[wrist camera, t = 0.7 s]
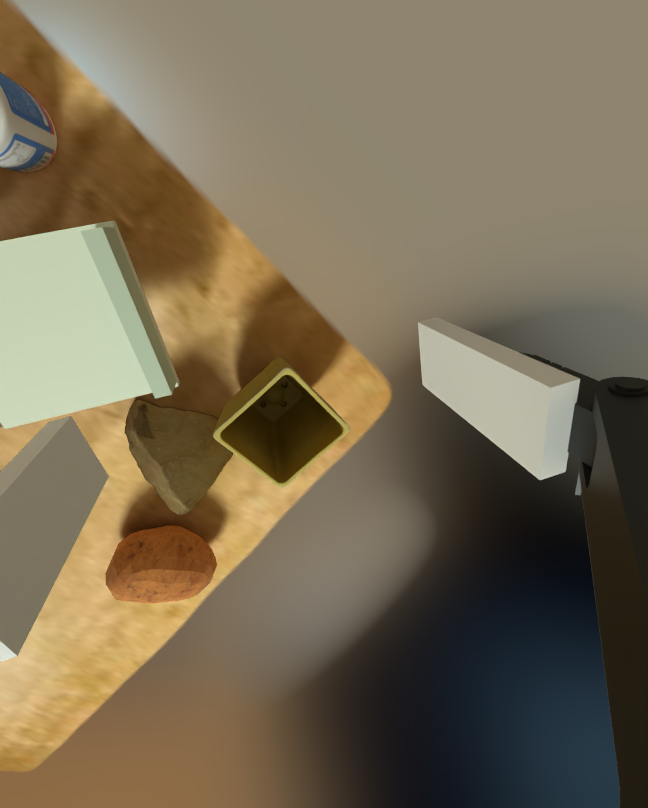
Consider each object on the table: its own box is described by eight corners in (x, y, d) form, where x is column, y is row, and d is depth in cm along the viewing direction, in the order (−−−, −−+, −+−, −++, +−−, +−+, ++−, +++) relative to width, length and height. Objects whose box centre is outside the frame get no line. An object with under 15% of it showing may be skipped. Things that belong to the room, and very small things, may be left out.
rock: (86, 433, 34) (156, 505, 37) (101, 433, 27) (184, 521, 31) (178, 369, 40) (231, 437, 43) (209, 356, 33) (268, 438, 37)
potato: (139, 499, 41) (121, 551, 34) (229, 526, 45) (229, 576, 39) (108, 556, 43) (85, 614, 36) (197, 575, 48) (192, 631, 41)
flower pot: (276, 336, 36) (288, 365, 28) (329, 391, 40) (352, 430, 32) (214, 393, 37) (210, 436, 29) (272, 441, 41) (281, 490, 33)
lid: (10, 424, 27) (-16, 446, 24) (-102, 260, 22) (-153, 265, 19) (179, 382, 29) (174, 399, 26) (115, 221, 23) (98, 219, 20)
